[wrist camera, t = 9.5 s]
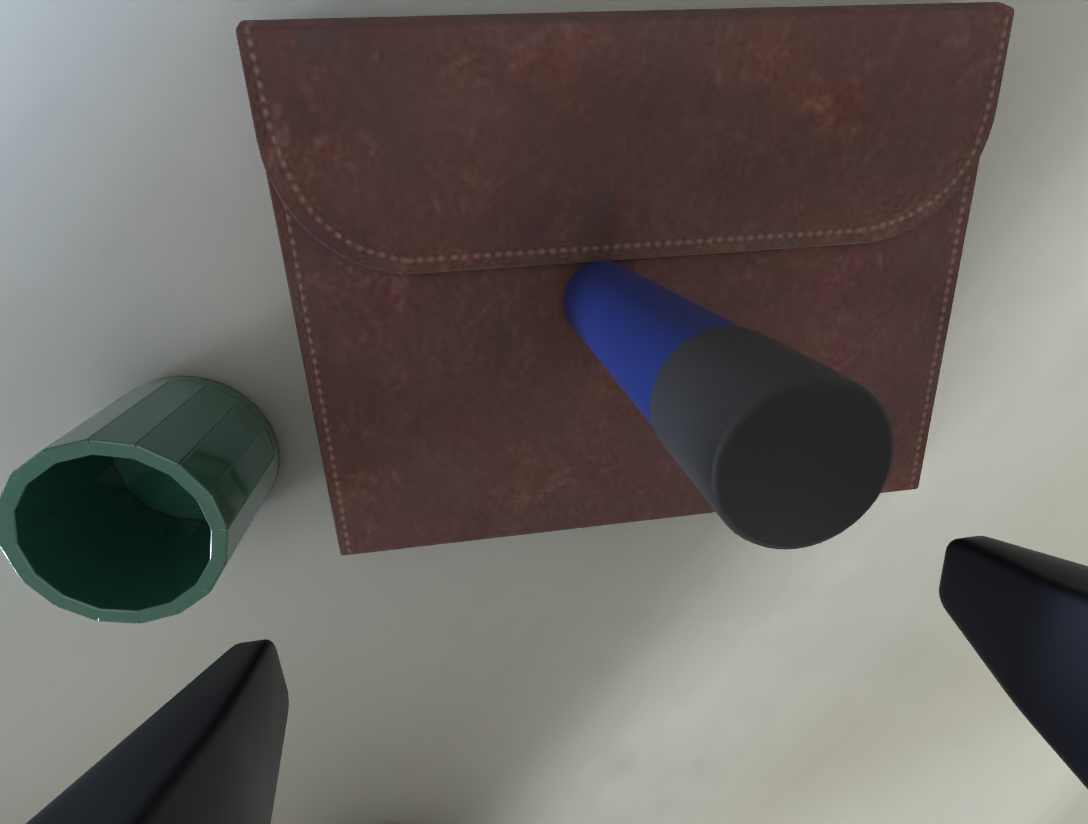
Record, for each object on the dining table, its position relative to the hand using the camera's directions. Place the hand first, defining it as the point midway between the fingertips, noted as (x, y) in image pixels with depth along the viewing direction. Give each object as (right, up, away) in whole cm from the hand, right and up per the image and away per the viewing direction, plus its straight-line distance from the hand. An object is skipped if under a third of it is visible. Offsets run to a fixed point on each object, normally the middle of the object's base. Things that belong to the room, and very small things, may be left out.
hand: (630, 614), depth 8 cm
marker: (0, +6, +9) cm, 11 cm away
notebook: (+2, +6, +12) cm, 14 cm away
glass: (-12, +1, +11) cm, 17 cm away
